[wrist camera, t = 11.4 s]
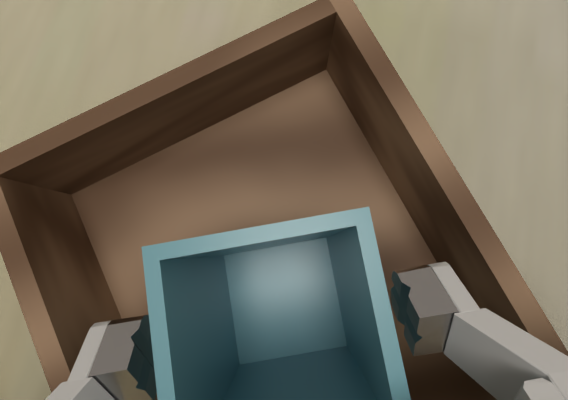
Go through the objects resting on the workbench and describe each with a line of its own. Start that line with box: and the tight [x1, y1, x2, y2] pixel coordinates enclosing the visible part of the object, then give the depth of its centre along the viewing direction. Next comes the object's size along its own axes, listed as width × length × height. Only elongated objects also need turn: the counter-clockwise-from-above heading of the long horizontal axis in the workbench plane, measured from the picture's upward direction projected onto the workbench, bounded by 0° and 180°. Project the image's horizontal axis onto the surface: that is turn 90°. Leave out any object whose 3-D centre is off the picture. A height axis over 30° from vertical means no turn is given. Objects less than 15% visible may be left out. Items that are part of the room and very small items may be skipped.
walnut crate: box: [0, 0, 568, 400], centre depth 14 cm, size 20×16×5 cm
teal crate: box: [142, 207, 411, 400], centre depth 12 cm, size 6×6×8 cm
